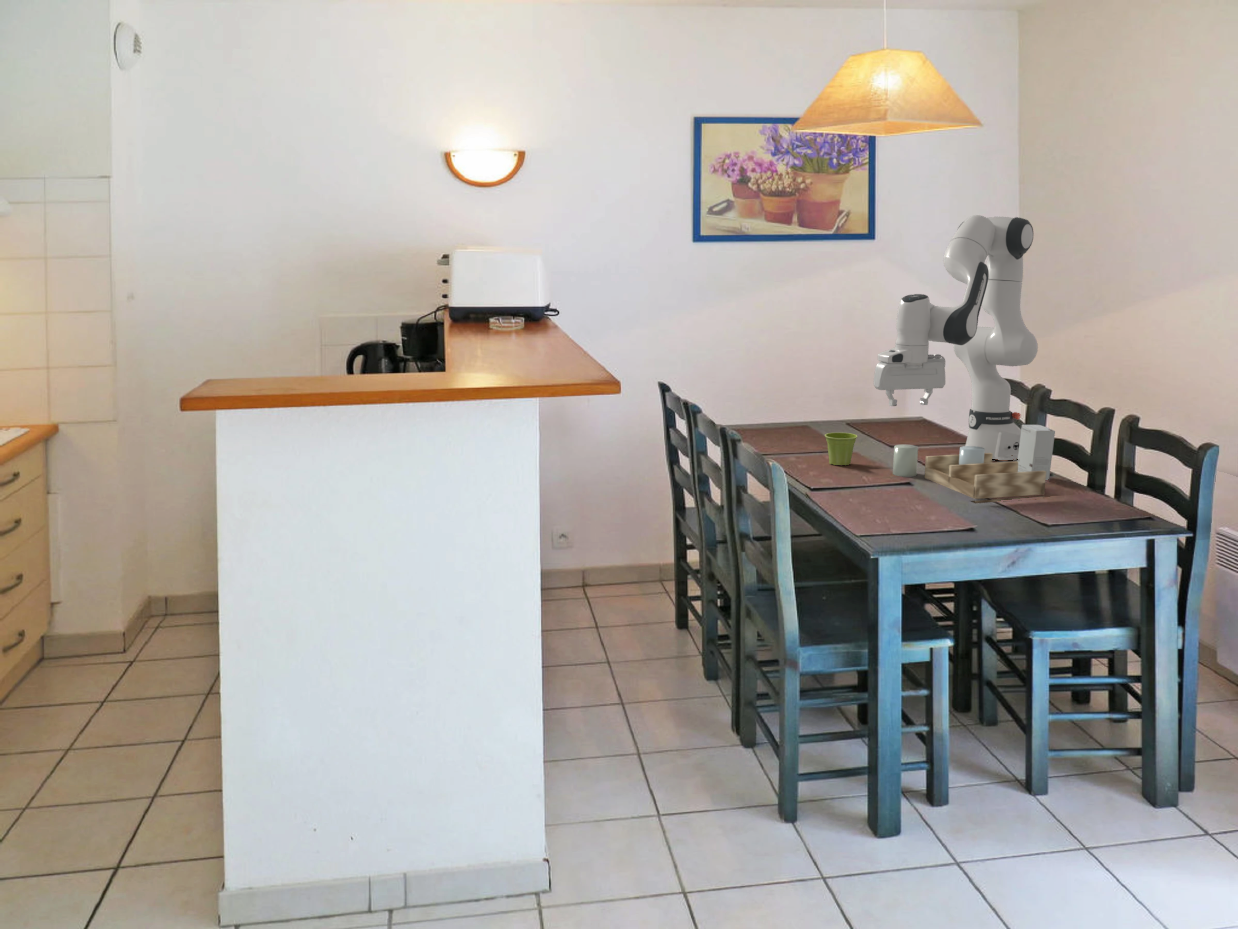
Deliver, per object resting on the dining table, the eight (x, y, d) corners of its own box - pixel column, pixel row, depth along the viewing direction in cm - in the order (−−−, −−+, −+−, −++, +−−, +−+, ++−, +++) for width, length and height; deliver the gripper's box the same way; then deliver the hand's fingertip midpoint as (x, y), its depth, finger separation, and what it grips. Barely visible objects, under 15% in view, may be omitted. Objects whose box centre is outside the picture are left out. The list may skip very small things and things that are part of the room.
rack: (988, 478, 310) (990, 452, 309) (1043, 498, 287) (1046, 471, 285) (924, 482, 305) (925, 456, 304) (975, 503, 282) (977, 475, 280)
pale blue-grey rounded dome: (973, 477, 305) (976, 445, 304) (987, 482, 299) (989, 449, 297) (953, 478, 304) (955, 446, 302) (966, 484, 298) (968, 451, 296)
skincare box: (1015, 476, 312) (1019, 424, 309) (1034, 475, 314) (1039, 423, 310) (1031, 483, 304) (1035, 429, 301) (1051, 482, 305) (1055, 429, 302)
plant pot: (856, 468, 323) (857, 438, 321) (823, 466, 325) (824, 437, 323) (856, 461, 332) (857, 433, 330) (823, 460, 334) (825, 431, 332)
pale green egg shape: (909, 475, 314) (910, 444, 312) (920, 480, 308) (922, 448, 306) (888, 476, 312) (890, 445, 310) (899, 481, 306) (901, 449, 304)
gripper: (939, 352, 308) (936, 402, 311) (872, 354, 303) (869, 404, 306) (951, 355, 302) (948, 405, 305) (883, 357, 297) (880, 408, 300)
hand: (908, 405), depth 306 cm, fingers open, 8 cm apart
